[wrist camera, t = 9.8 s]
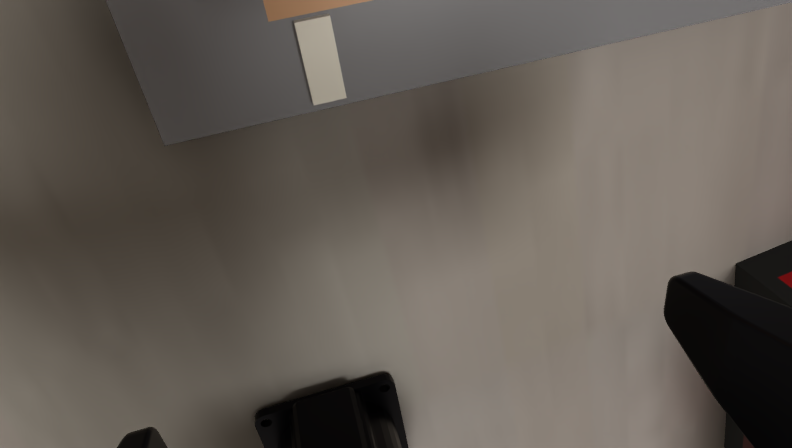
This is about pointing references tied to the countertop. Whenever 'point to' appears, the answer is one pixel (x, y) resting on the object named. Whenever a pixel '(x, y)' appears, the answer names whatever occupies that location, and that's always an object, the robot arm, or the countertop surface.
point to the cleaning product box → (770, 278)
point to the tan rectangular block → (301, 7)
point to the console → (358, 49)
